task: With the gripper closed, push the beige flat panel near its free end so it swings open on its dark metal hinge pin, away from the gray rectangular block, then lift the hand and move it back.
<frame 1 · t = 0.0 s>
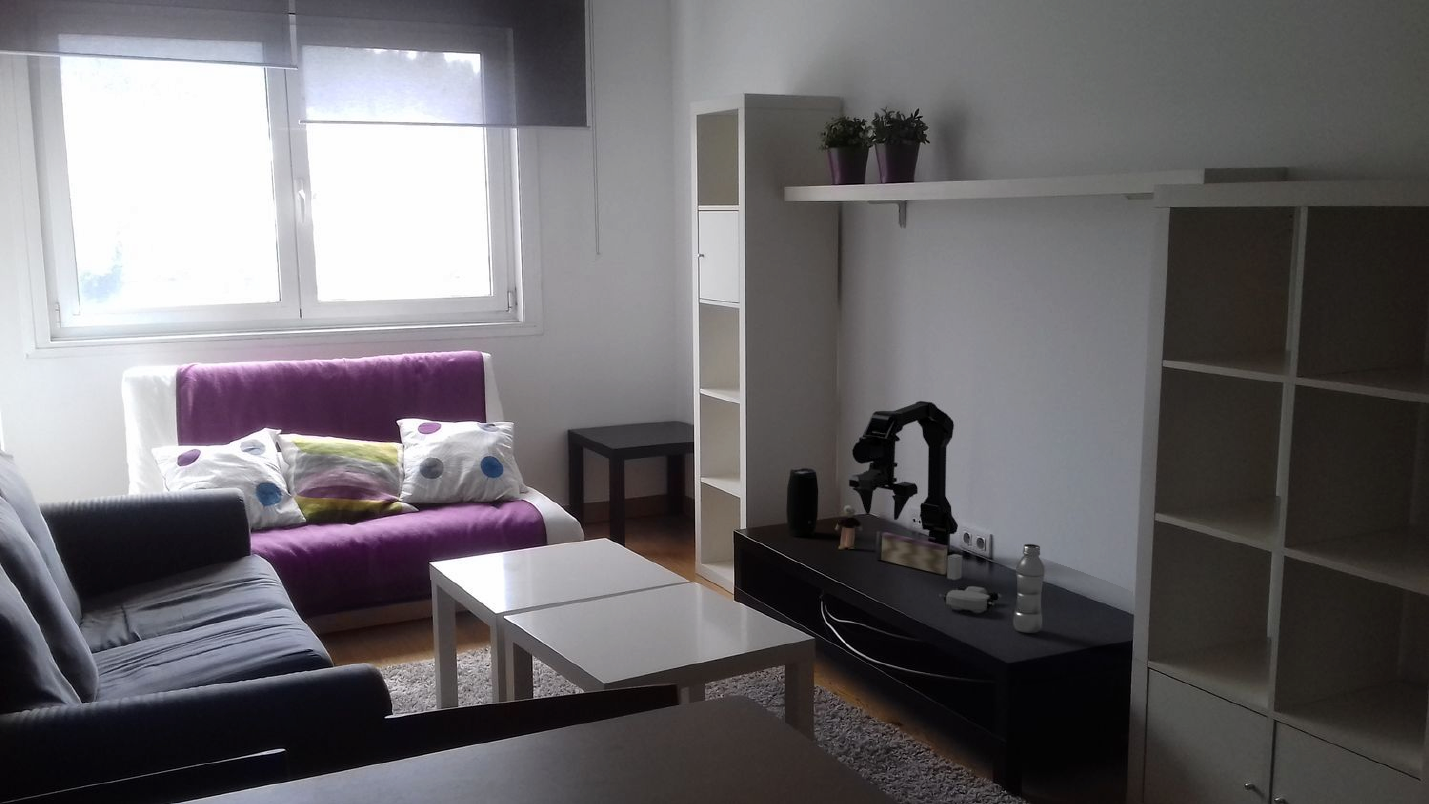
hand: (881, 516, 322), 15 cm above the tv stand, tool pointing down, fingers open, 9 cm apart
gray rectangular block: (954, 578, 318), on the tv stand
portable speaker: (801, 535, 362), on the tv stand
plastic bottle: (1027, 632, 274), on the tv stand
robot toy: (971, 608, 292), on the tv stand
grandmother figurine: (848, 549, 347), on the tv stand
beige flat panel: (910, 552, 327), point 4 cm above the tv stand, hinge at 0.0°
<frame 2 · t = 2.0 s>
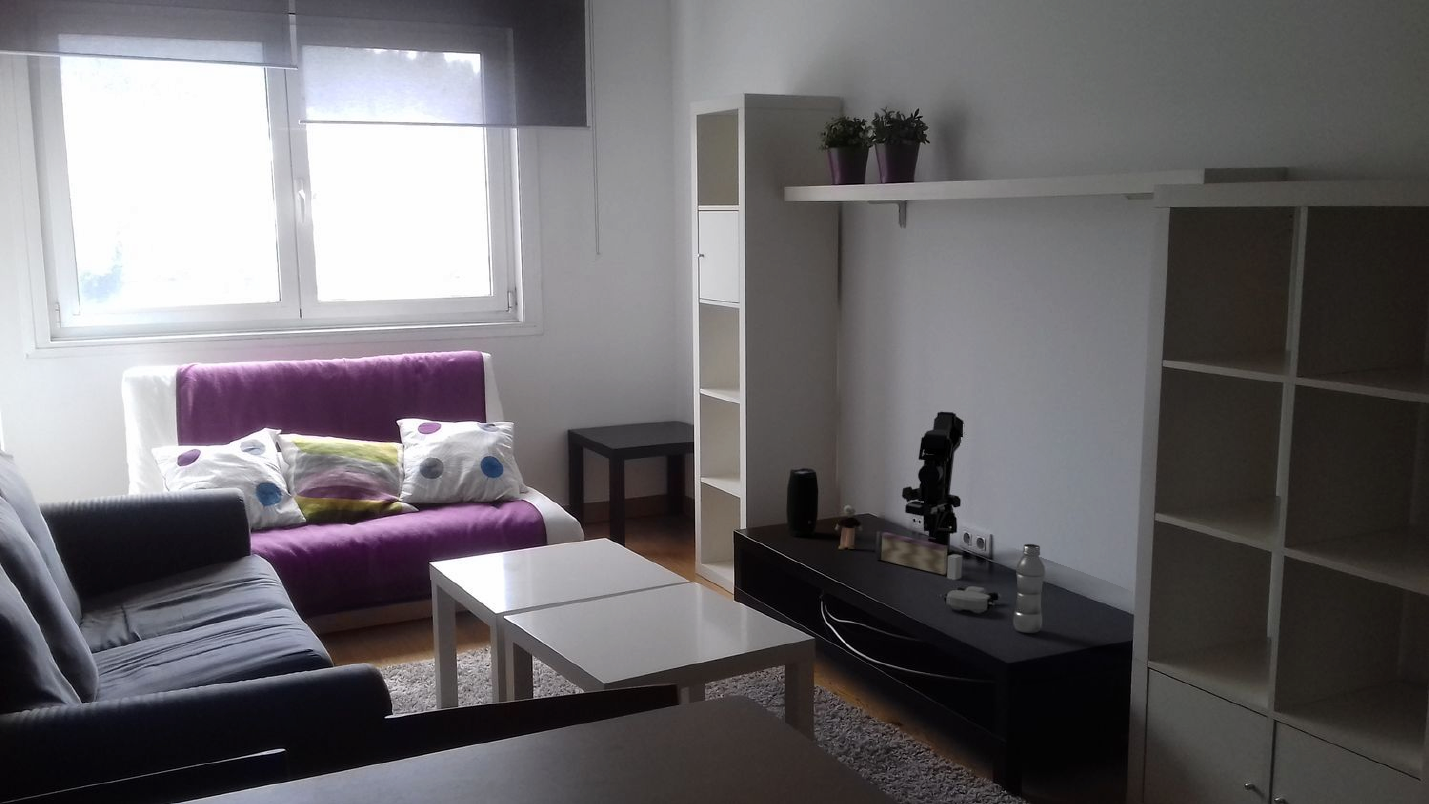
hand: (932, 535, 330), 8 cm above the tv stand, tool pointing down, fingers closed
nothing on the tv stand moved.
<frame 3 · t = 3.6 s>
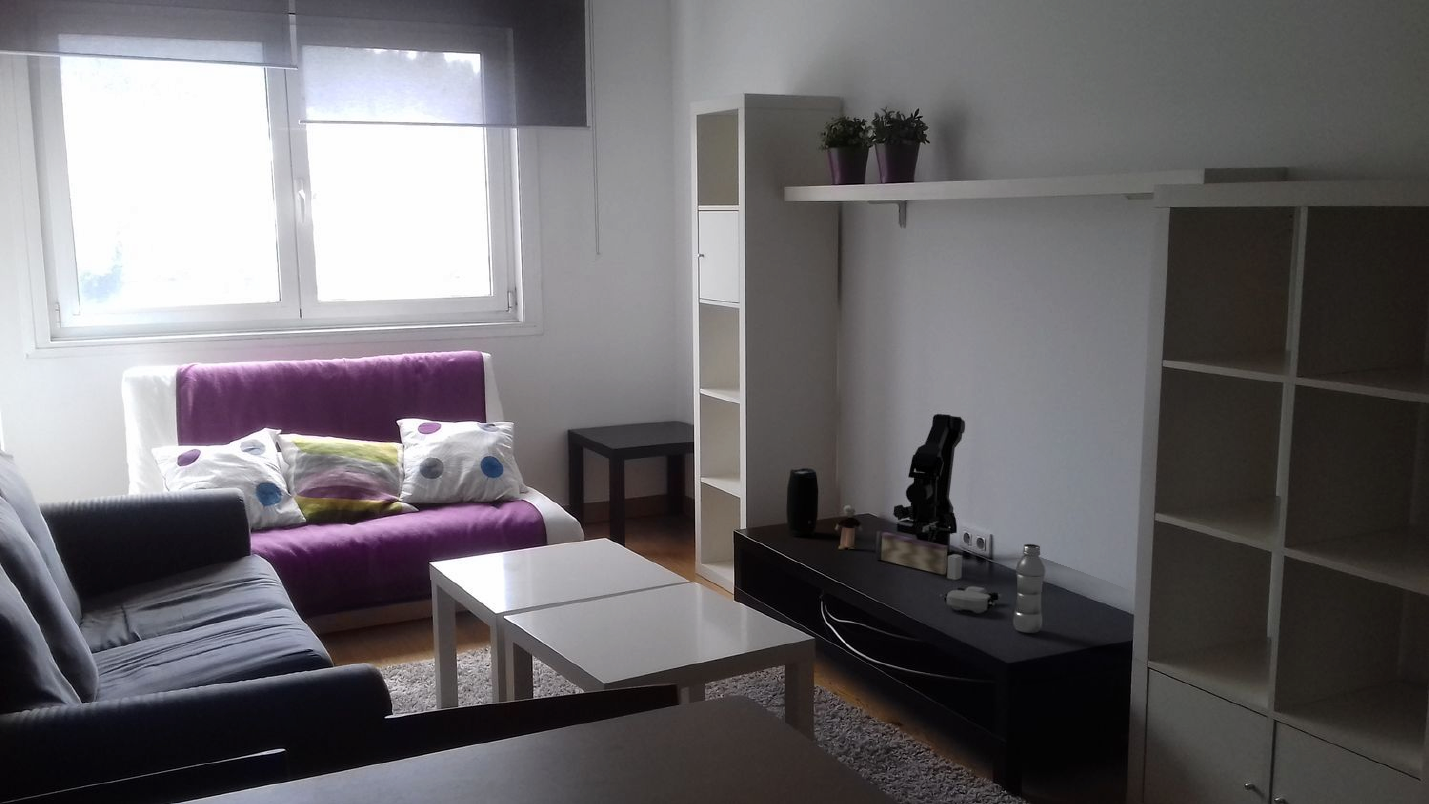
hand: (923, 553, 328), 4 cm above the tv stand, tool pointing down, fingers closed
beige flat panel: (910, 552, 327), point 4 cm above the tv stand, hinge at 0.3°, touching gripper
everything else where it was.
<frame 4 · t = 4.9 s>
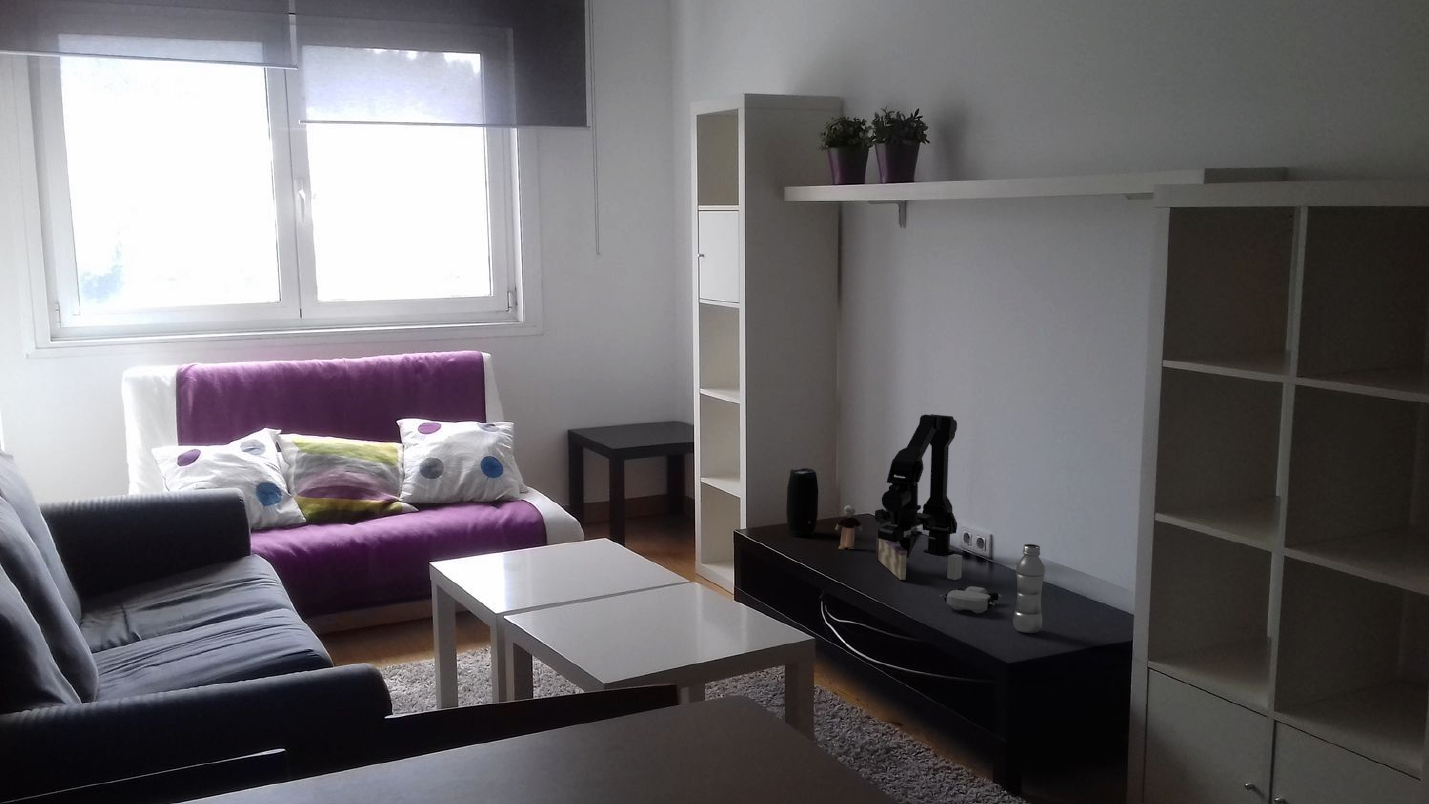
hand: (906, 557, 323), 4 cm above the tv stand, tool pointing down, fingers closed
beige flat panel: (890, 554, 324), point 4 cm above the tv stand, hinge at 37.7°, touching gripper
everything else where it was.
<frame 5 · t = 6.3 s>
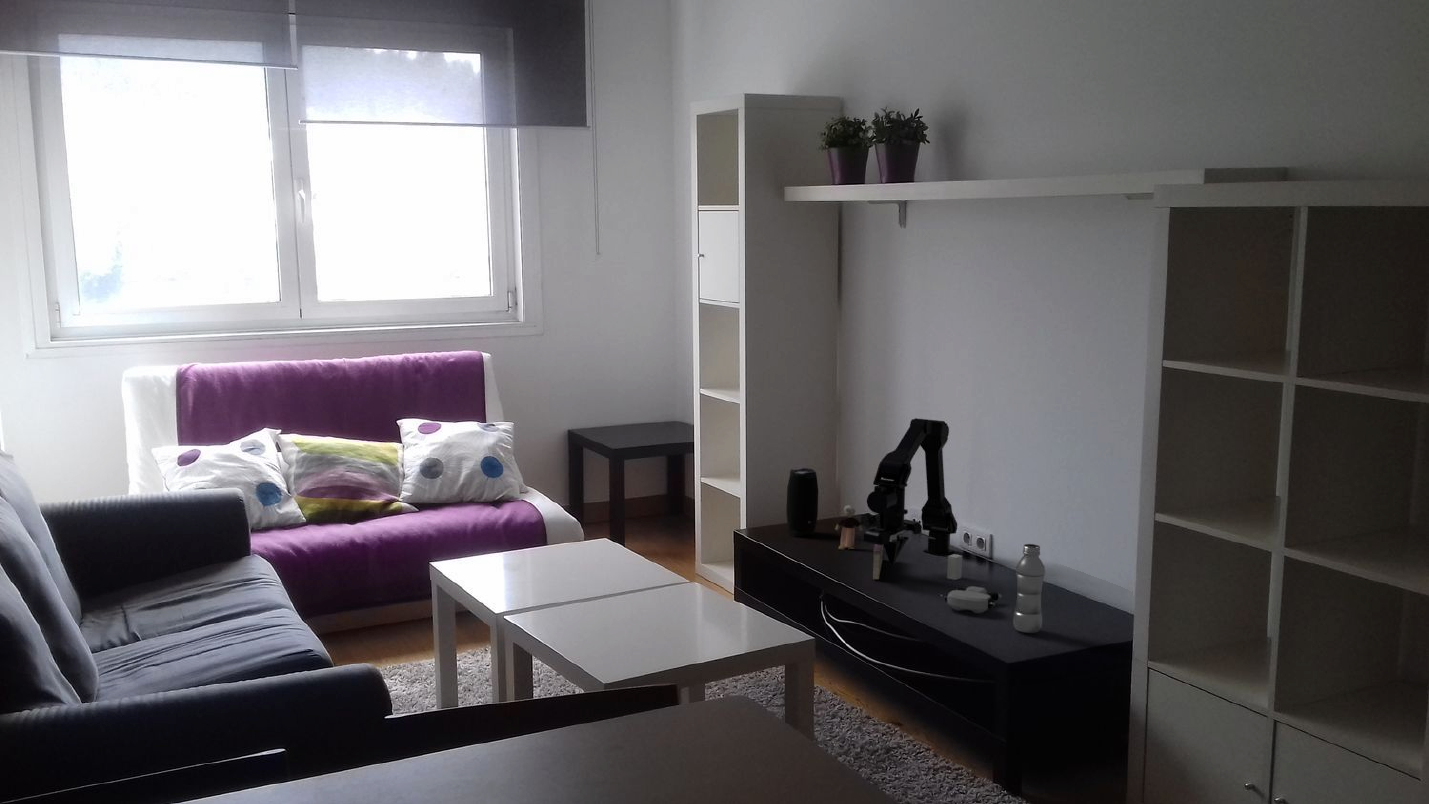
hand: (891, 563, 317), 4 cm above the tv stand, tool pointing down, fingers closed
beige flat panel: (878, 554, 324), point 4 cm above the tv stand, hinge at 56.8°, touching gripper
everything else where it was.
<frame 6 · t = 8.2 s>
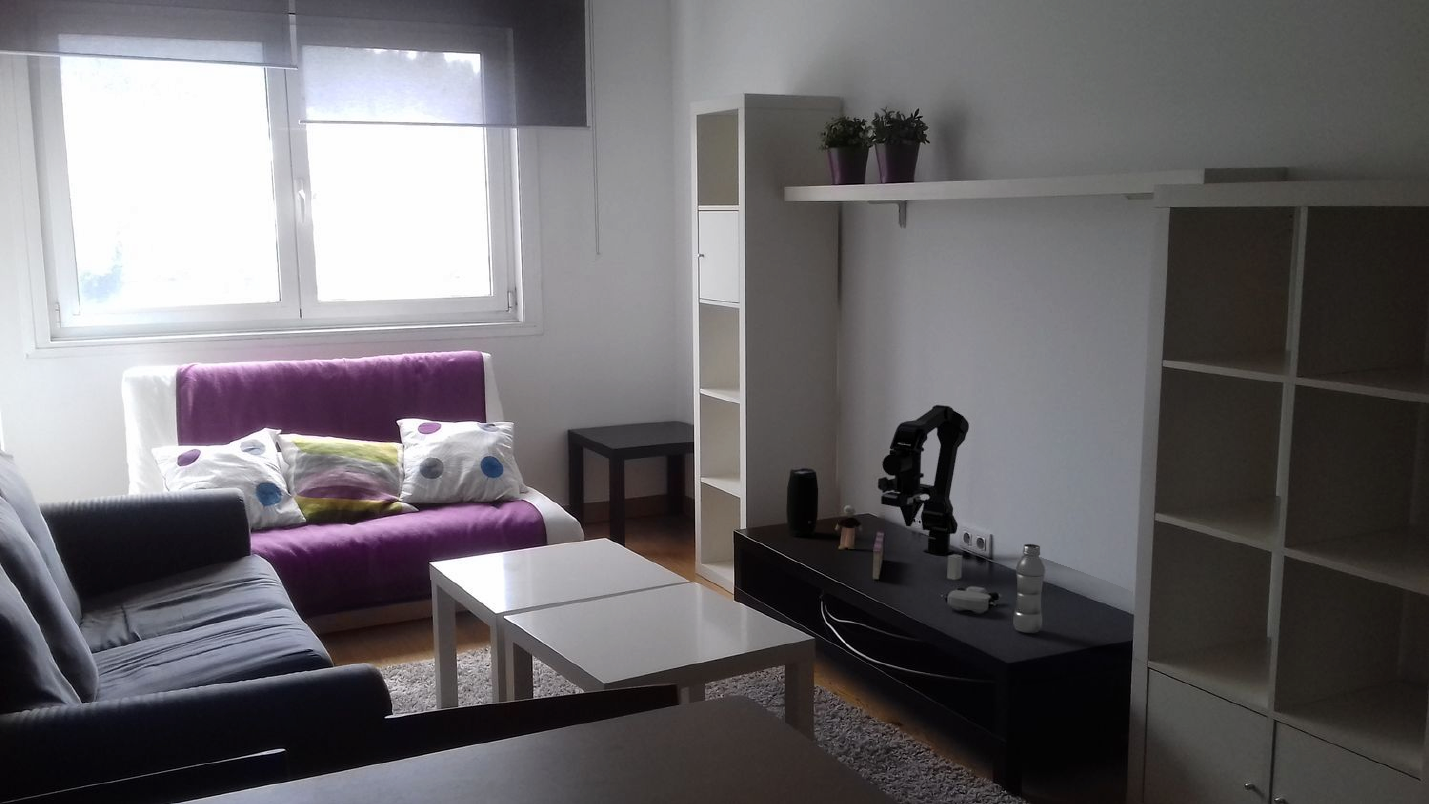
hand: (908, 526, 328), 11 cm above the tv stand, tool pointing down, fingers closed
beige flat panel: (878, 554, 324), point 4 cm above the tv stand, hinge at 56.9°
everything else where it was.
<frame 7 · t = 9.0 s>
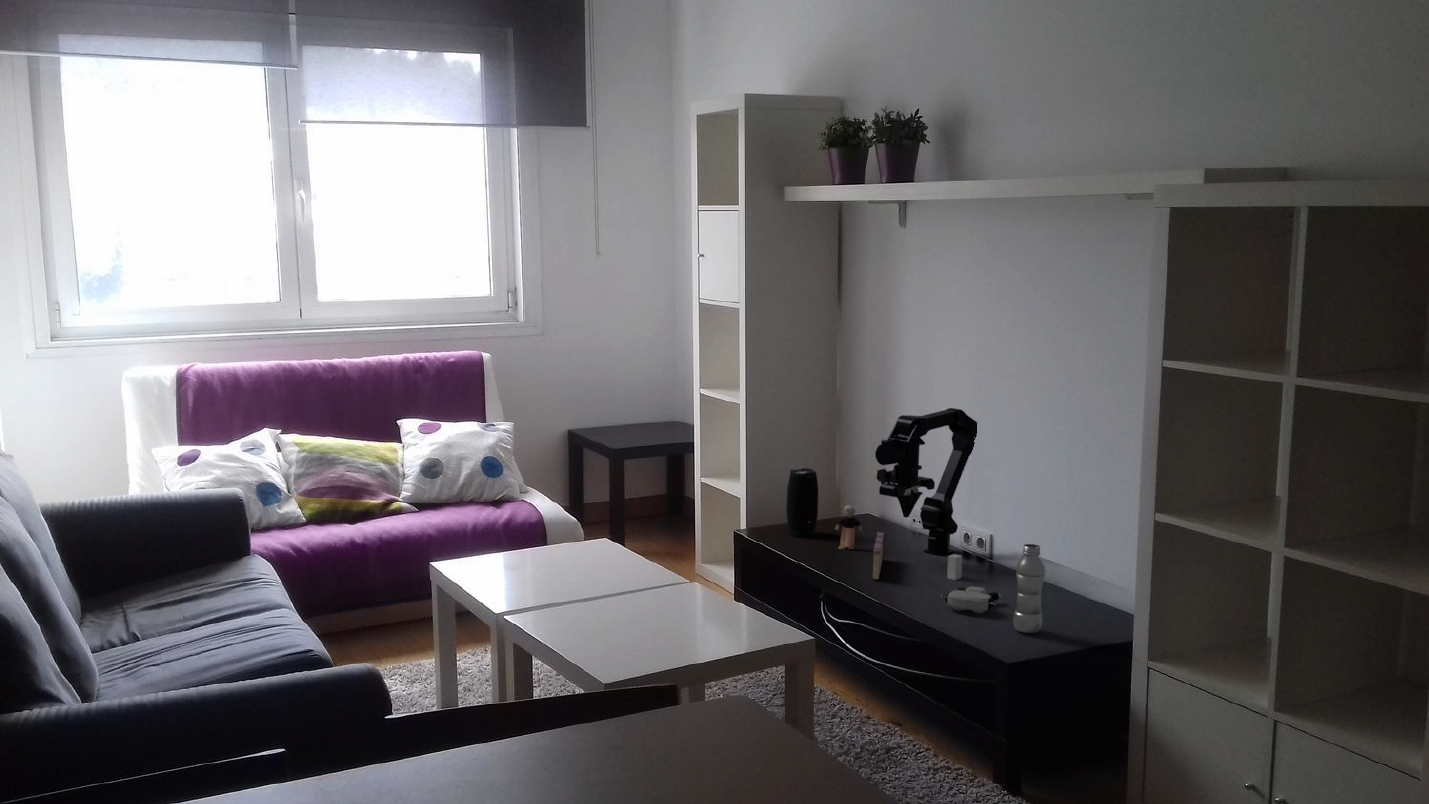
hand: (906, 517, 334), 12 cm above the tv stand, tool pointing down, fingers closed
nothing on the tv stand moved.
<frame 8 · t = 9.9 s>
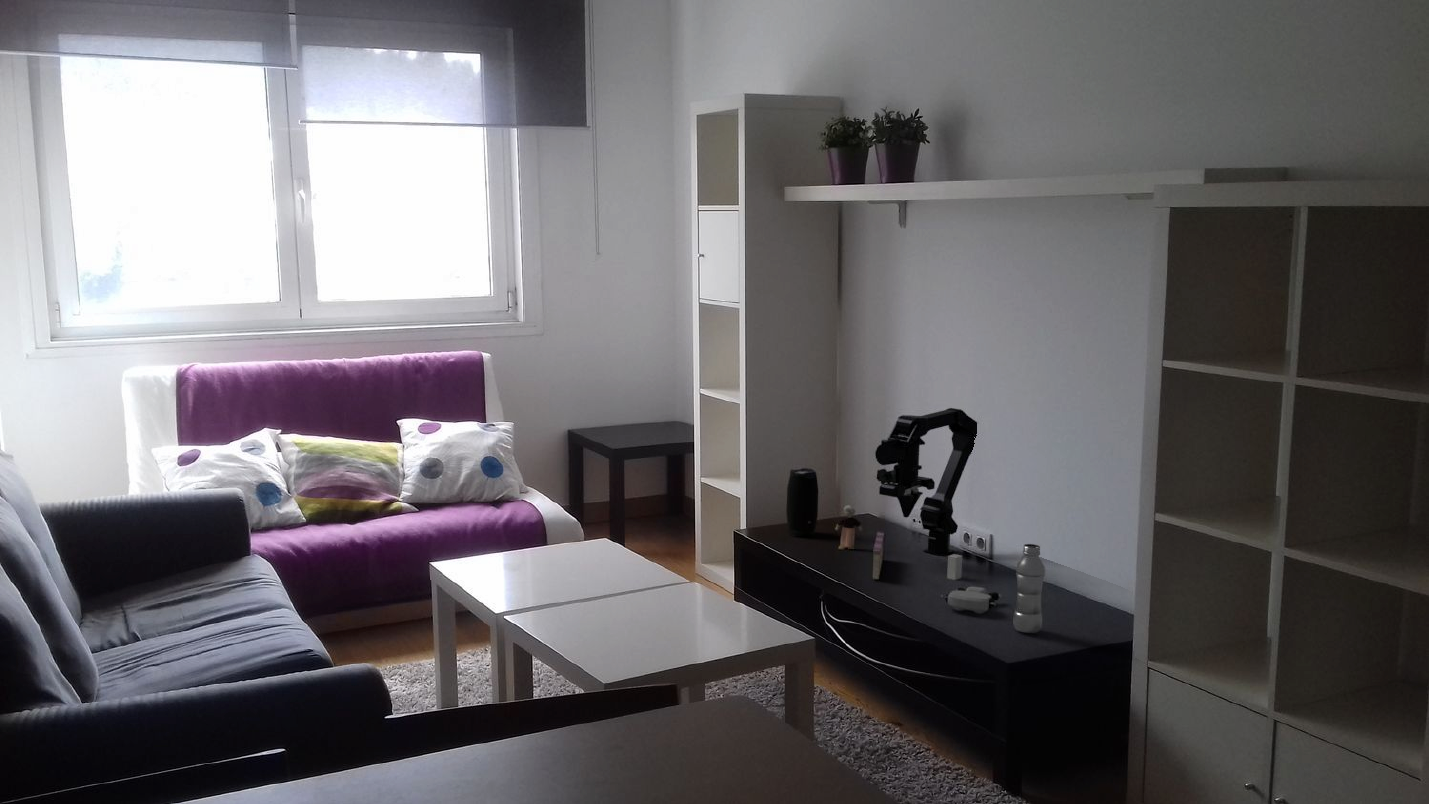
hand: (906, 517, 334), 12 cm above the tv stand, tool pointing down, fingers closed
nothing on the tv stand moved.
at the end: beige flat panel at +57° (first picture: +0°); grandmother figurine moved 0.2 cm from its start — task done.
